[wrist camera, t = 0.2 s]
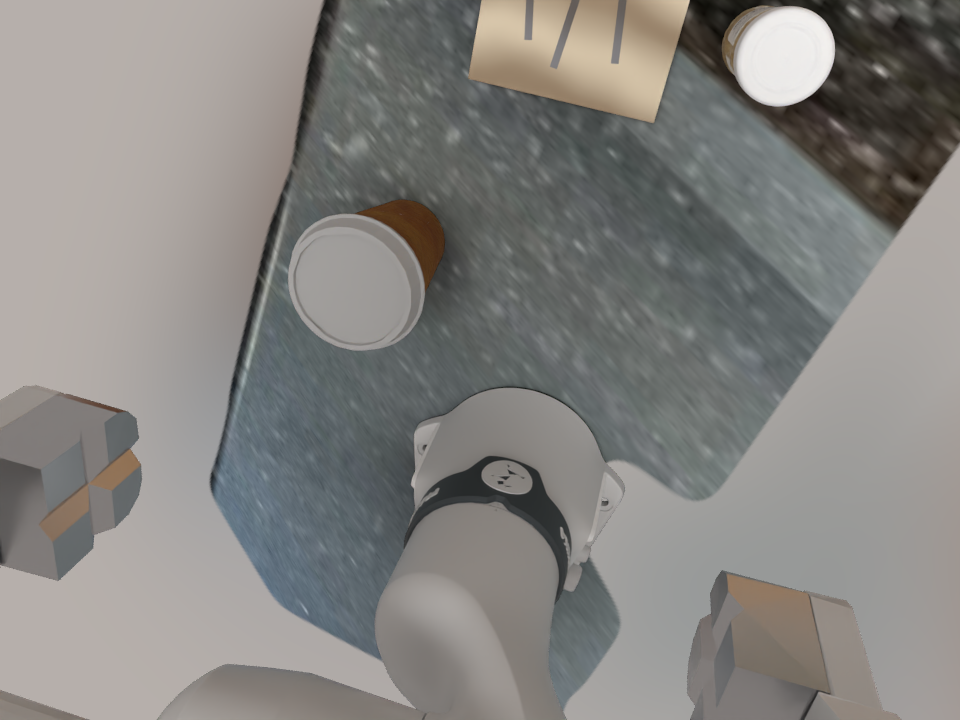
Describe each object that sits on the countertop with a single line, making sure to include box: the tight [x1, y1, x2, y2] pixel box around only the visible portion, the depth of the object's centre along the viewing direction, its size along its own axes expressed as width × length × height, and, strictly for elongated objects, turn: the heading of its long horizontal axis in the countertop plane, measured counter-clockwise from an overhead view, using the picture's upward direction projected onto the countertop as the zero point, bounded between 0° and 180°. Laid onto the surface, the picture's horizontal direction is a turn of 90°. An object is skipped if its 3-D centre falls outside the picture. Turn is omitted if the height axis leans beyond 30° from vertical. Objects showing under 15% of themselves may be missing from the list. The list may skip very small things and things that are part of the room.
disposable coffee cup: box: [288, 200, 445, 351], centre depth 54 cm, size 10×10×12 cm
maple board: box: [468, 0, 690, 123], centre depth 49 cm, size 12×13×2 cm
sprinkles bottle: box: [722, 6, 835, 106], centre depth 42 cm, size 5×5×13 cm
